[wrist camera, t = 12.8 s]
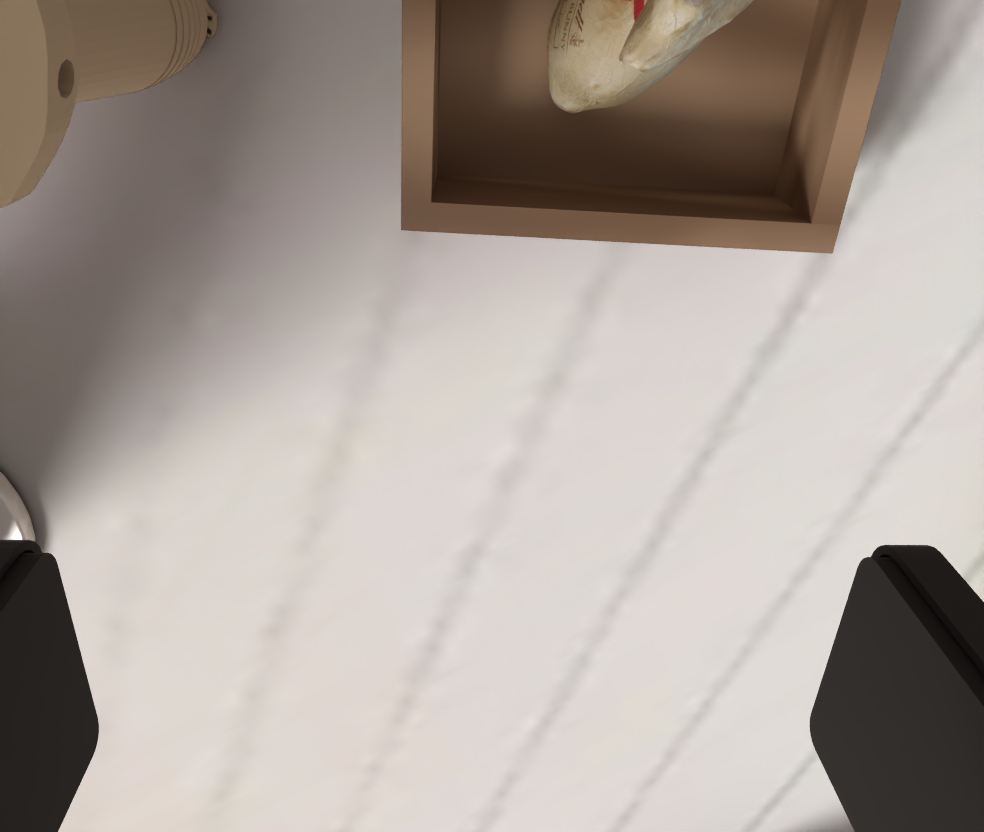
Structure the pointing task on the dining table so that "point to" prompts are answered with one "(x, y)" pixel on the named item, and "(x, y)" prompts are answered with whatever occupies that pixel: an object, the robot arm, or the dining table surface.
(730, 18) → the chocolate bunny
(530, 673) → the dining table surface
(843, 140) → the box
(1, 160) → the handle
